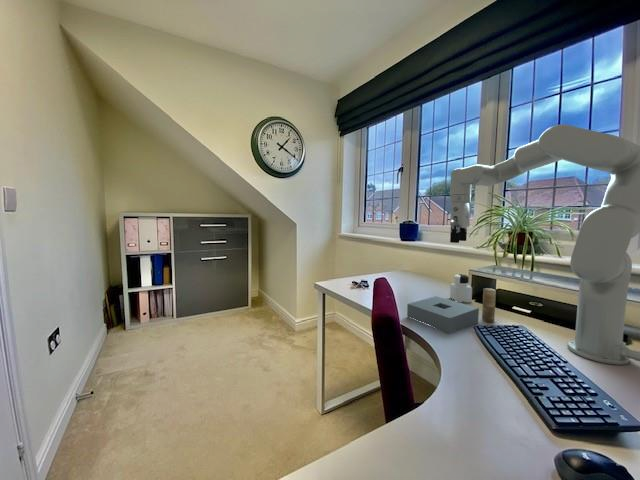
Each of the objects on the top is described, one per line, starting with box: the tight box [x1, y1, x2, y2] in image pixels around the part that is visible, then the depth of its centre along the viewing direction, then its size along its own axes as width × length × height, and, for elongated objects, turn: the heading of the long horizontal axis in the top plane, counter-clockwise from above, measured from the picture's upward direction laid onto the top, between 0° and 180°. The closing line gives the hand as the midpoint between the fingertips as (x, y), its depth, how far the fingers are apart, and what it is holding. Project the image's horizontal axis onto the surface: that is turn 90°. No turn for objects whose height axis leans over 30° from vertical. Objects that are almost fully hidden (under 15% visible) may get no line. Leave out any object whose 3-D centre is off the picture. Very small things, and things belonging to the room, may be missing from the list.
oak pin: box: [481, 287, 497, 323], centre depth 104 cm, size 4×4×12 cm
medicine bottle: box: [449, 273, 473, 303], centre depth 129 cm, size 7×7×12 cm
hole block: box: [406, 295, 480, 335], centre depth 106 cm, size 18×18×6 cm
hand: (458, 241), depth 113 cm, fingers open, 9 cm apart
